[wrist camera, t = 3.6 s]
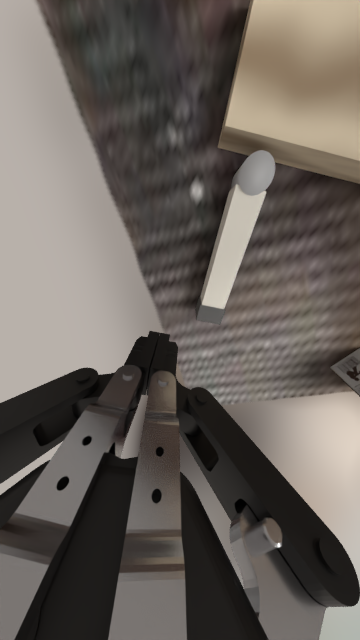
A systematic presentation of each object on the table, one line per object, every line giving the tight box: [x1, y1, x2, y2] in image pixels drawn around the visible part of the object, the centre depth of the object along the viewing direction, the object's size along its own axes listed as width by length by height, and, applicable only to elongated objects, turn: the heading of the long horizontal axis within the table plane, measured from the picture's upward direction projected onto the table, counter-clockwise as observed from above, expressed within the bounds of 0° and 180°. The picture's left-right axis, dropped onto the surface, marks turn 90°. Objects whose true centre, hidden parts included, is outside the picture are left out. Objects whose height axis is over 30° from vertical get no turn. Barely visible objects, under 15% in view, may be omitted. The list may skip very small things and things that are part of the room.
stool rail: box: [218, 0, 360, 184], centre depth 14 cm, size 8×20×4 cm, turn 79°
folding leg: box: [195, 150, 275, 325], centre depth 20 cm, size 18×4×4 cm, turn 169°
